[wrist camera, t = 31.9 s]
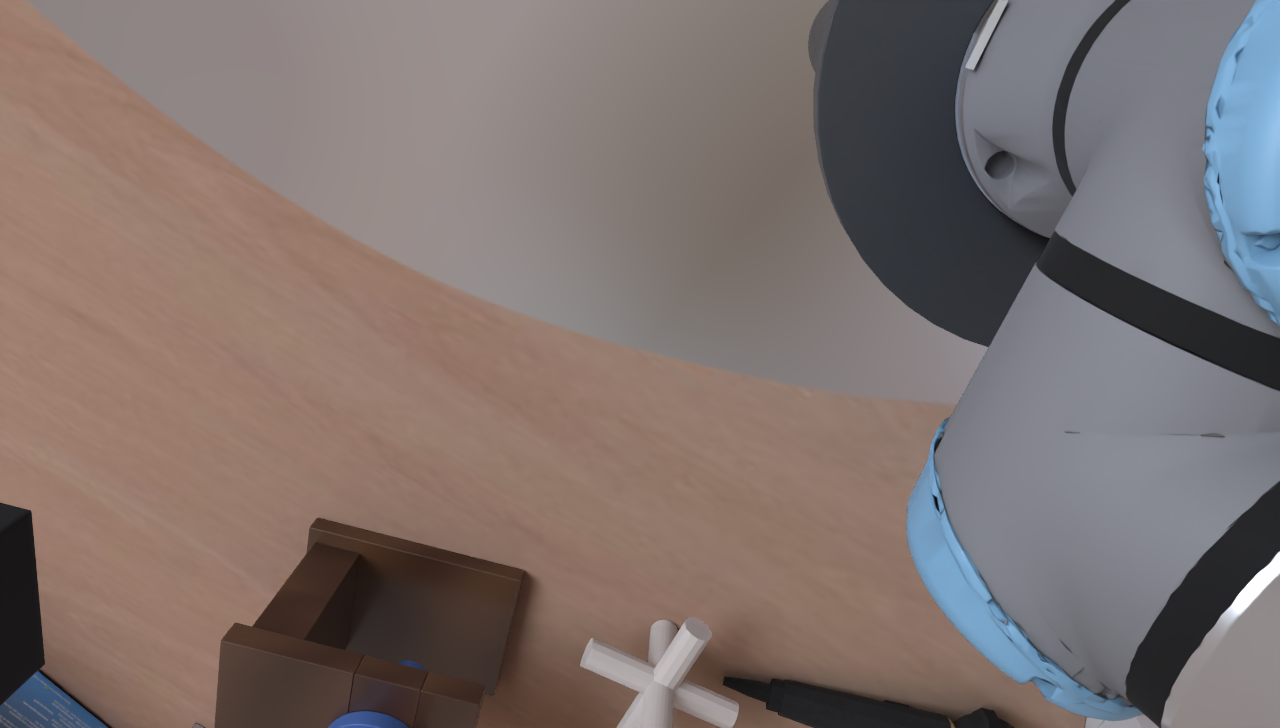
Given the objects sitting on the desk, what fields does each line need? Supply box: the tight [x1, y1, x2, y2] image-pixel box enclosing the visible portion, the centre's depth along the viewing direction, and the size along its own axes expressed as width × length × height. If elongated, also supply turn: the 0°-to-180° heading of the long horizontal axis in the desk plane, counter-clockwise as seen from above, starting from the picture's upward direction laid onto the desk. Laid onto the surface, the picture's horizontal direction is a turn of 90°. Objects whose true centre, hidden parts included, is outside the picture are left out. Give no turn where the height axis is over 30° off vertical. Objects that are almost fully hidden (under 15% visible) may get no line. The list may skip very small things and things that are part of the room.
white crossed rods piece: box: [580, 617, 739, 728], centre depth 53 cm, size 10×10×10 cm
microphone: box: [723, 676, 1014, 728], centre depth 57 cm, size 6×6×20 cm
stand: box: [215, 518, 524, 728], centre depth 53 cm, size 14×10×12 cm
